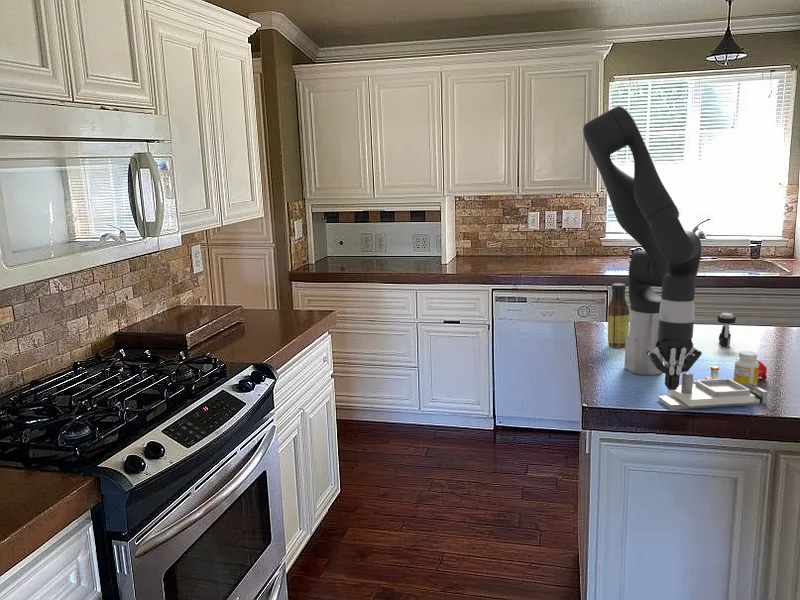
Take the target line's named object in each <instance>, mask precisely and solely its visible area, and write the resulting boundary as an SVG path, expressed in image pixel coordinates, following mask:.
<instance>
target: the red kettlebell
mask: <svg viewBox="0 0 800 600" xmlns="http://www.w3.org/2000/svg"><path fill="white" fill-rule="evenodd" d="M755 361H757V362H758V363H759V372H758V378H761V379H763V380H767V373H768V370H767V369H768V367H767V366H766V365H765V364H764V363H763V362H761V360H758V359H756V360H755ZM758 383H759V381H757V384H758Z"/></svg>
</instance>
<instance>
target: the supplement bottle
mask: <svg viewBox="0 0 800 600" xmlns="http://www.w3.org/2000/svg"><path fill="white" fill-rule="evenodd" d="M755 360H758V353H756V352H755V351H752V350H751V351H750V350H741V351H739V352H738V359H737V360H736V361H735V362H734V372H733V381H735V382H737V383H739V384H741V385H743V386H745V387H746V388H747V385H748V384H753V385H755V386H757V387H758V383H757V382H759V379H758V378H759V377H758V372H759V363H758V362H757V361H755Z"/></svg>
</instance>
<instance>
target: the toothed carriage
mask: <svg viewBox="0 0 800 600" xmlns="http://www.w3.org/2000/svg"><path fill="white" fill-rule="evenodd" d="M750 391H751V390H750V389H748V388H746V387H745V386H743V385H741V384H739V383H737V382H735V381H734V379H731V378H727V377H725V378H718V379H713V378H712V377H711V376H705V377H704V379H697V380H694V373H693V372H688V371H687V372H682V373H681V384H679V386H678V387H677V390H669V389H668V388H667V393H669V394H670V395H673V396H675V397H676V398H678V399H679V400H681V401H682V402H684V403H685V404H687V405H688V406H703V405H719V404H735V403H750V402H755V395H753V394H751V393H750Z"/></svg>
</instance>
